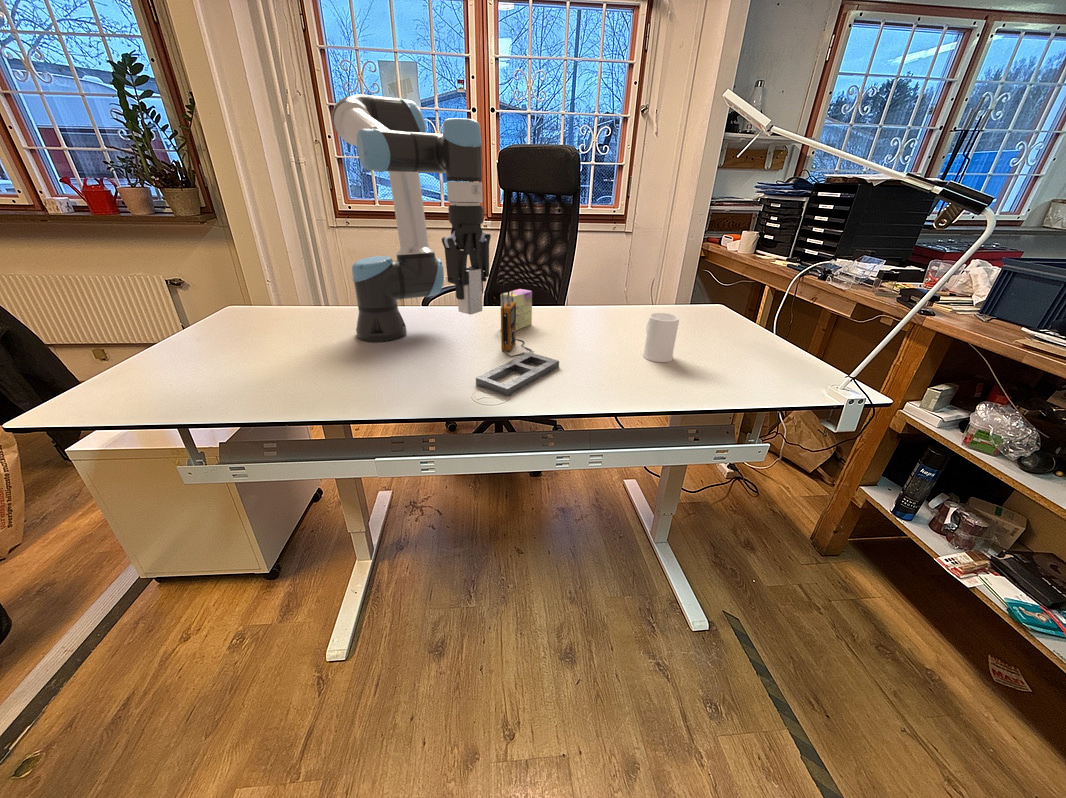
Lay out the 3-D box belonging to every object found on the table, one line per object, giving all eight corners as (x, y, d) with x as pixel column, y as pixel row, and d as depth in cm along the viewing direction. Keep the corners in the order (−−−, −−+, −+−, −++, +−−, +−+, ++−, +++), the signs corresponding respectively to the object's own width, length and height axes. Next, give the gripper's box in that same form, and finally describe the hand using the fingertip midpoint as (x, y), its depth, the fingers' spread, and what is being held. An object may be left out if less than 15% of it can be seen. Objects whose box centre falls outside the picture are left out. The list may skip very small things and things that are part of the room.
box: (519, 321, 150) (519, 288, 145) (531, 324, 148) (532, 290, 142) (500, 328, 143) (499, 293, 137) (513, 332, 140) (513, 296, 135)
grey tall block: (458, 311, 102) (456, 267, 97) (470, 308, 105) (468, 264, 100) (470, 314, 100) (468, 269, 95) (482, 311, 103) (480, 267, 98)
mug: (633, 348, 129) (638, 309, 123) (659, 347, 130) (665, 308, 125) (650, 363, 118) (657, 321, 113) (678, 361, 120) (686, 320, 114)
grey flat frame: (476, 385, 103) (475, 377, 102) (529, 358, 119) (529, 352, 118) (507, 396, 98) (507, 389, 97) (558, 367, 114) (559, 360, 113)
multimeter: (531, 359, 119) (533, 288, 110) (497, 355, 121) (496, 285, 112) (541, 341, 132) (543, 276, 123) (510, 339, 134) (510, 274, 124)
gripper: (448, 206, 83) (456, 321, 94) (504, 203, 96) (505, 305, 106) (423, 204, 87) (433, 314, 98) (479, 202, 99) (483, 300, 110)
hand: (470, 309), depth 102 cm, fingers closed on grey tall block, 4 cm apart
